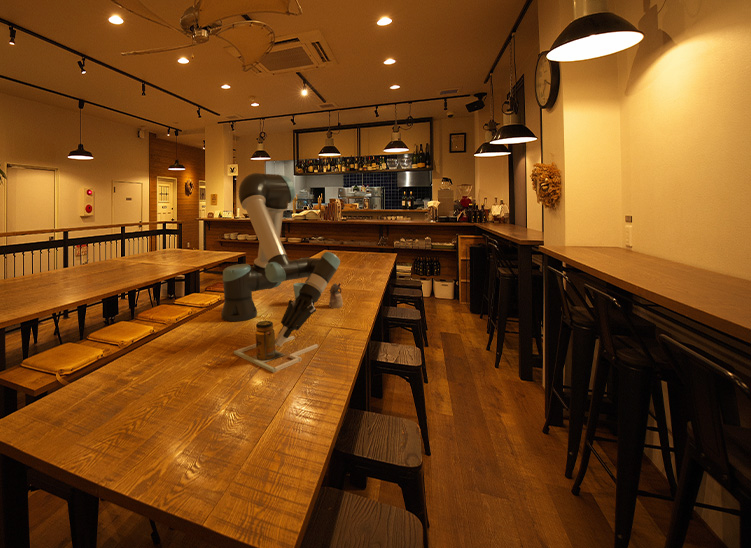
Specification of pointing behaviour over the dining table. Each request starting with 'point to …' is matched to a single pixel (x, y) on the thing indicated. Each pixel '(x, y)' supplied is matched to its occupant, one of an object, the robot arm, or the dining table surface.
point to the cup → (297, 288)
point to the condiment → (266, 342)
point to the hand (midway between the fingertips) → (277, 344)
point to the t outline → (274, 369)
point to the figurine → (335, 296)
